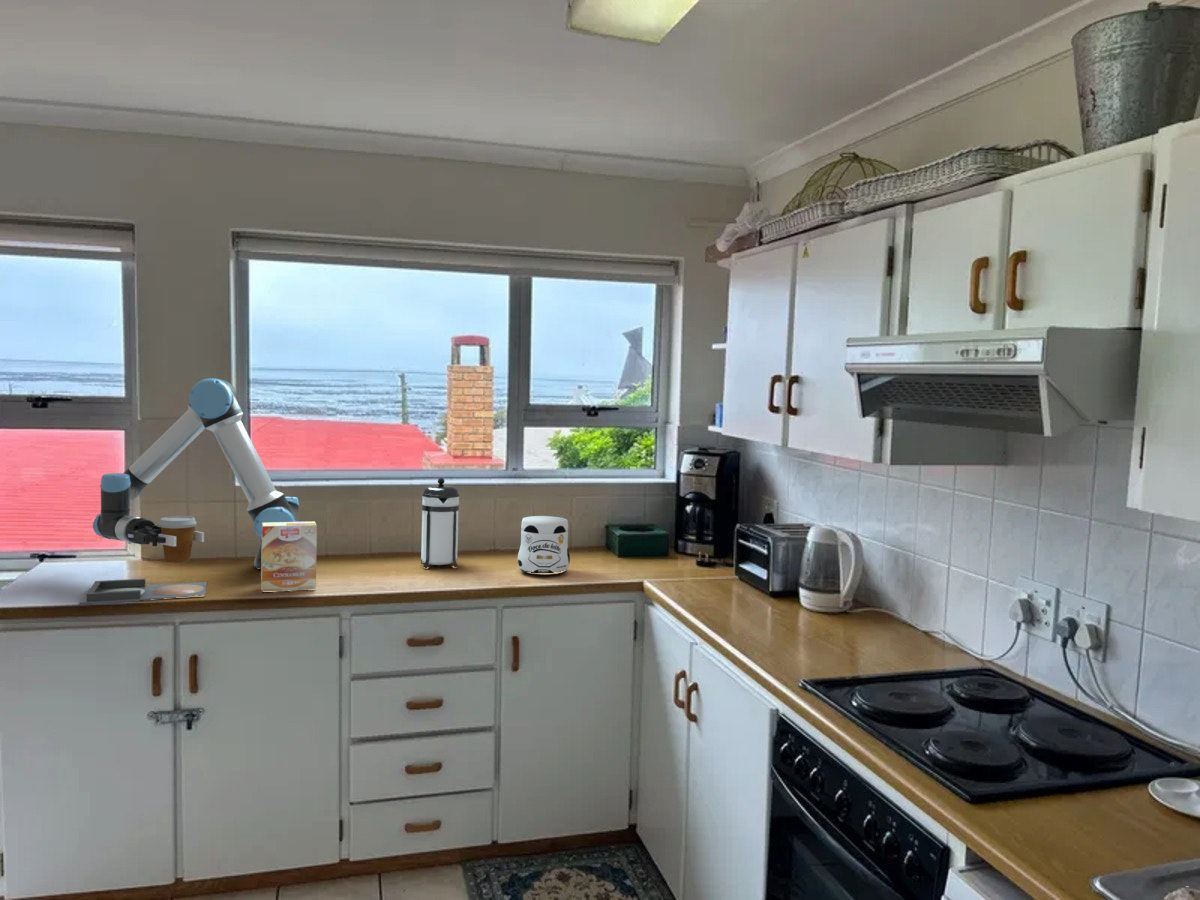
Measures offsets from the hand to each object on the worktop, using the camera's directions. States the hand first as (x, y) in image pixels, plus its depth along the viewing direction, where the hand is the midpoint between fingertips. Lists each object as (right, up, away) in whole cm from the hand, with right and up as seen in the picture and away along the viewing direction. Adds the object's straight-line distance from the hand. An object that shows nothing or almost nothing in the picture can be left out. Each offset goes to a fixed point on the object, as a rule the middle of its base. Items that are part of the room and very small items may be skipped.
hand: (189, 539), depth 237 cm
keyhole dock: (-12, -15, 0) cm, 19 cm away
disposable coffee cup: (-5, -6, +3) cm, 8 cm away
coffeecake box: (+24, -16, +11) cm, 31 cm away
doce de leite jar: (+96, -16, +46) cm, 107 cm away
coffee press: (+59, -14, +52) cm, 80 cm away
